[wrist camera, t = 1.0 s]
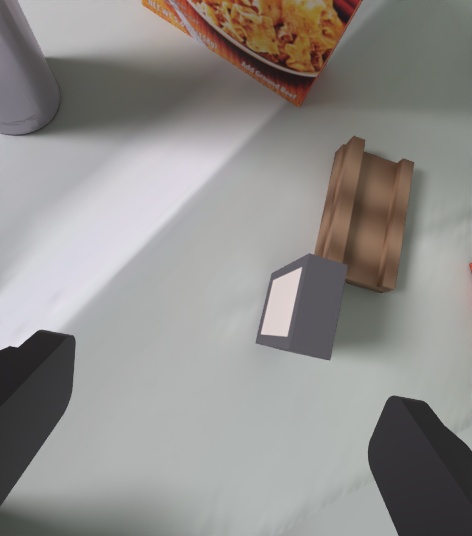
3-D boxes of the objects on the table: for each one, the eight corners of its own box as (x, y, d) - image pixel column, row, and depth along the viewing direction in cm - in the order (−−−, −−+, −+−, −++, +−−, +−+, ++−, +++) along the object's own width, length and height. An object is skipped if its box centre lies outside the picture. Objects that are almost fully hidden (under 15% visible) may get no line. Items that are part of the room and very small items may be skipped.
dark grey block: (285, 350, 37) (330, 360, 27) (255, 343, 37) (288, 349, 26) (300, 281, 39) (347, 265, 28) (271, 273, 39) (309, 253, 28)
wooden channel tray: (379, 292, 41) (401, 289, 37) (310, 272, 39) (325, 266, 36) (398, 174, 44) (420, 159, 40) (335, 152, 43) (351, 135, 39)
